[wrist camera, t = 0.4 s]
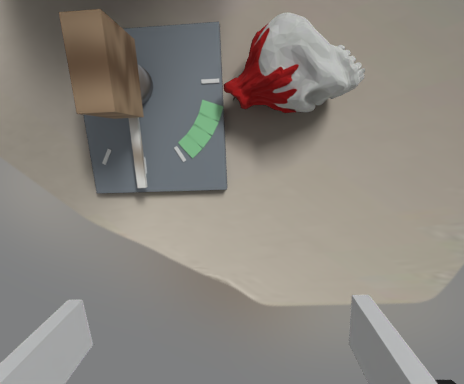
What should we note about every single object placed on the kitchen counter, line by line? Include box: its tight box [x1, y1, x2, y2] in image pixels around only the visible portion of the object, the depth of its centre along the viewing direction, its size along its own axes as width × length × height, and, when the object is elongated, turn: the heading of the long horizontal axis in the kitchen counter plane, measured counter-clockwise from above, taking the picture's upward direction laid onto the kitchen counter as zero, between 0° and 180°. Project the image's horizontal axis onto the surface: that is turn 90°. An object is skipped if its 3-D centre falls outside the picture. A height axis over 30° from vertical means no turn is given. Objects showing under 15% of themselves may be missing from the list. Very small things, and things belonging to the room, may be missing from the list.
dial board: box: [84, 22, 227, 193], centre depth 34 cm, size 22×20×1 cm
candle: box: [224, 13, 365, 113], centre depth 29 cm, size 9×11×15 cm
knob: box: [59, 9, 153, 188], centre depth 29 cm, size 18×5×10 cm, turn 2°
